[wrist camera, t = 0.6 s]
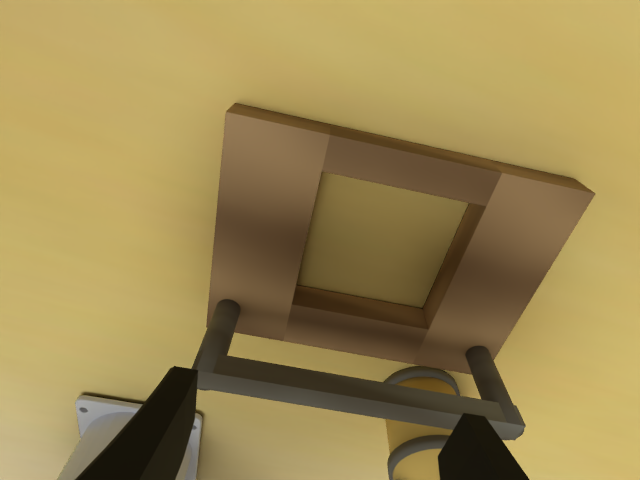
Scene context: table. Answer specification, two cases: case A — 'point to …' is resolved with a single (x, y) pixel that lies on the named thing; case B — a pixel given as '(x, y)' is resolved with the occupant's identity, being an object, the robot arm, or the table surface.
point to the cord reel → (417, 428)
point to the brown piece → (361, 313)
